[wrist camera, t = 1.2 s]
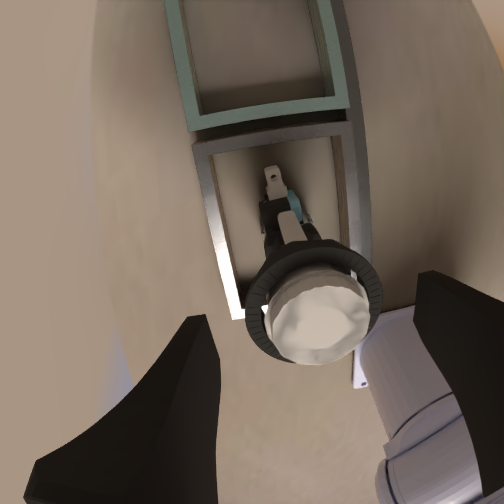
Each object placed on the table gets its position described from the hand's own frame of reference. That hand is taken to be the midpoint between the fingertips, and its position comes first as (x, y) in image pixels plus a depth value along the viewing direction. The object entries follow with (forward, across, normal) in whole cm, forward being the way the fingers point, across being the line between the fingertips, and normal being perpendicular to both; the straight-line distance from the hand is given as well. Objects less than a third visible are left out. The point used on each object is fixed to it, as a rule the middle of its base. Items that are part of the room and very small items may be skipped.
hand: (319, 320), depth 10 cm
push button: (+11, 0, 0) cm, 11 cm away
